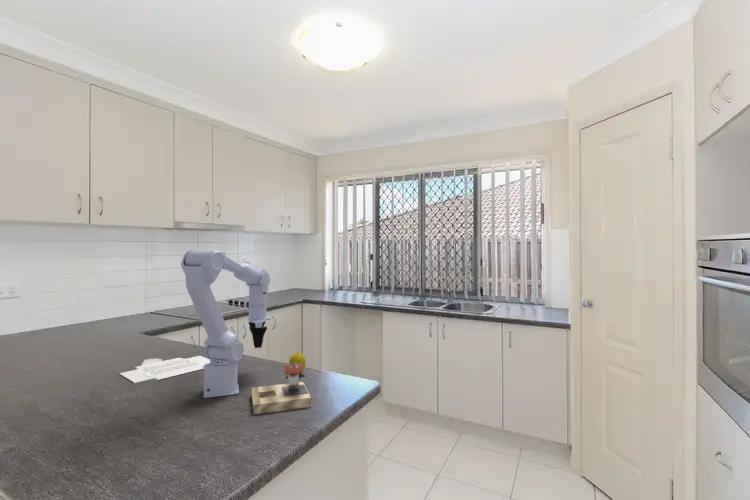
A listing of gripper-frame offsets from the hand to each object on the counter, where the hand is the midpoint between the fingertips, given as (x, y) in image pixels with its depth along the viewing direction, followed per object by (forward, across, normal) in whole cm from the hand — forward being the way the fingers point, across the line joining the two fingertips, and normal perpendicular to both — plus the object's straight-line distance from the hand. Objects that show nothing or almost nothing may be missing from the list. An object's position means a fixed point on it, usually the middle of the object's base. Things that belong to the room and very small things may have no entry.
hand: (257, 344), depth 127 cm
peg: (+8, -25, -9) cm, 27 cm away
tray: (+11, +18, +29) cm, 36 cm away
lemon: (+11, -4, -13) cm, 17 cm away
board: (+10, -25, -5) cm, 28 cm away
